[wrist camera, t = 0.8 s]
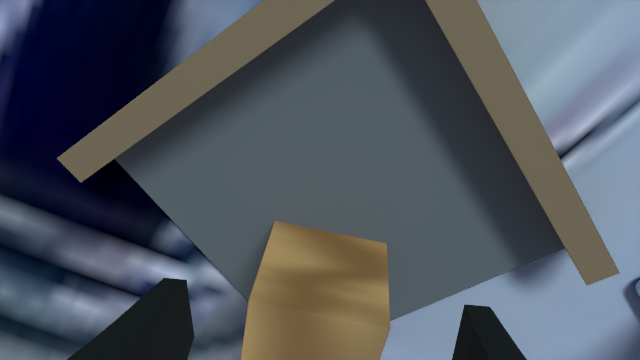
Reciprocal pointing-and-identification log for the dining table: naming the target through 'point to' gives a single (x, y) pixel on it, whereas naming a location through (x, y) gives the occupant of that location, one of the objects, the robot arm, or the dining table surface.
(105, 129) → the arena
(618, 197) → the dining table surface
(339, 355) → the block
